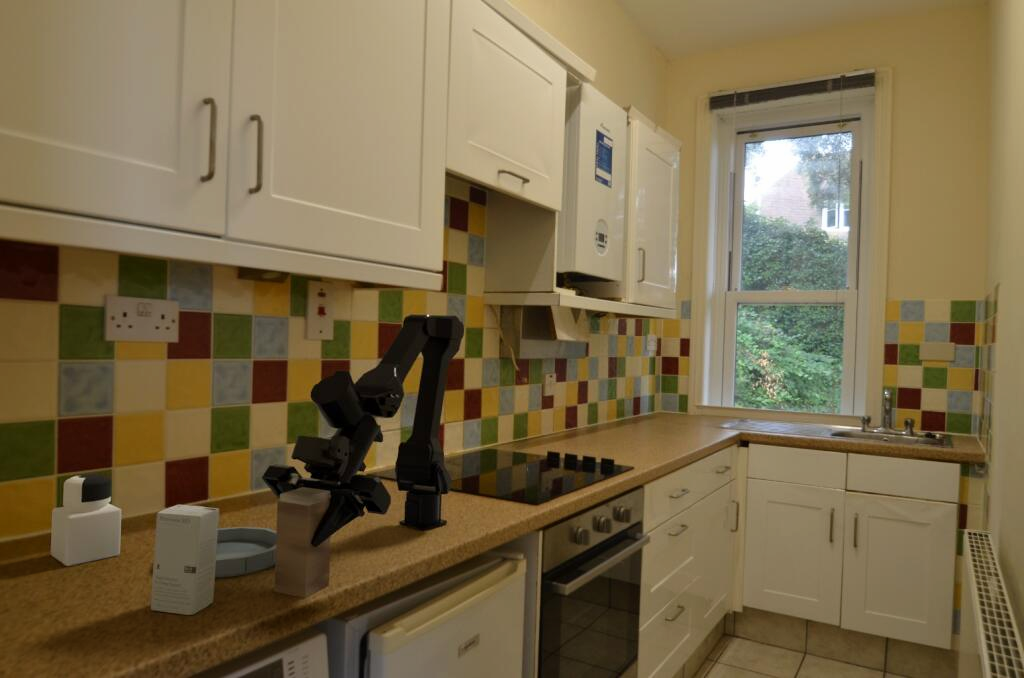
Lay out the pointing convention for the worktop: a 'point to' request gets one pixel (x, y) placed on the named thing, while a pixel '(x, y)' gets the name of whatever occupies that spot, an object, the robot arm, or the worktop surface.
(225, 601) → the worktop surface
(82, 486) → the medicine bottle
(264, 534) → the slate dish
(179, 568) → the skincare box
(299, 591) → the walnut block
